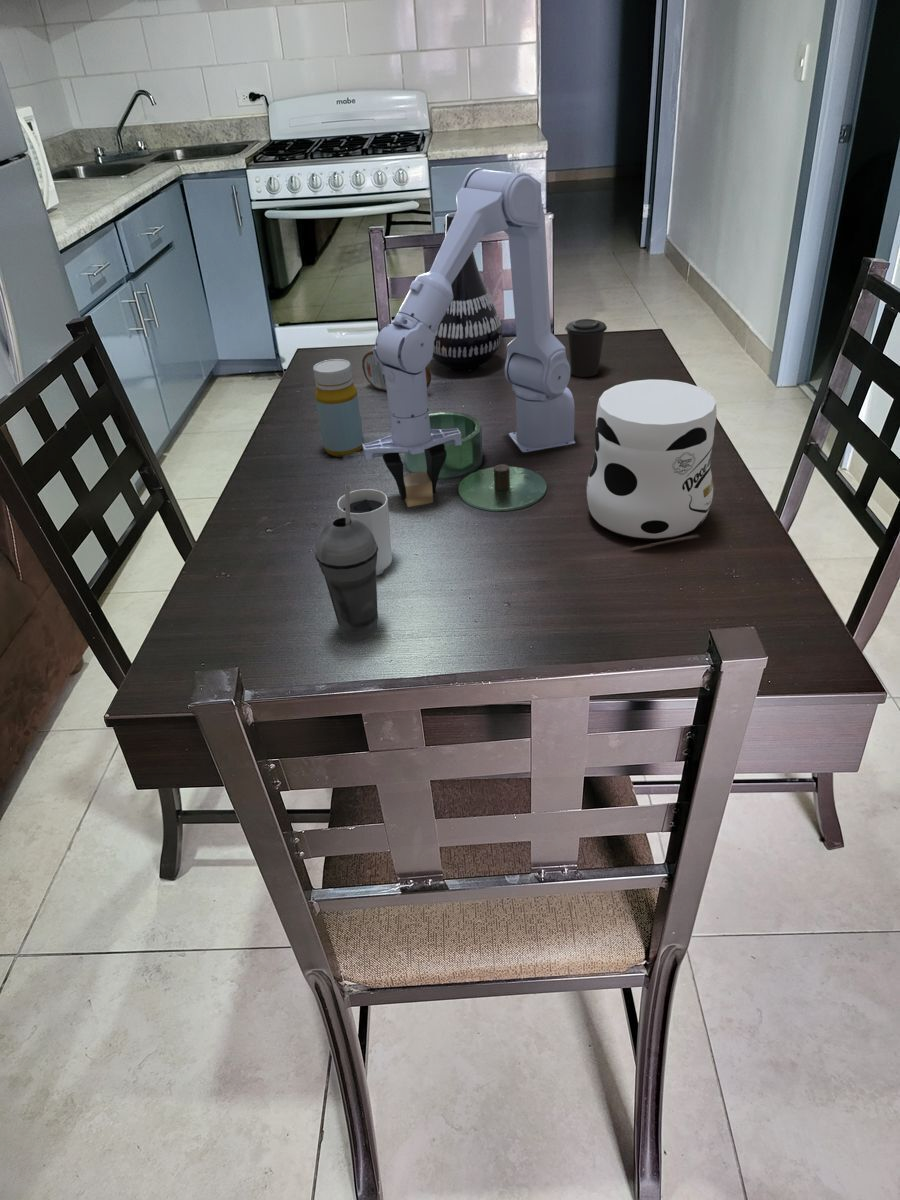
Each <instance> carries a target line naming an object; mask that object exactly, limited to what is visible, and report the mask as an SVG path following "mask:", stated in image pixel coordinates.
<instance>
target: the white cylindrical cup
mask: <svg viewBox="0 0 900 1200" xmlns="http://www.w3.org/2000/svg"><path fill="white" fill-rule="evenodd" d="M388 500H389V499H388V497H387V494H386V493H384V492H383V491H382V490H378V489H374V488H362V489H355V490H352V491H350V517H351V518H355V519H357V520H359V521H361V522H363V523H364V524H365V525H366V526H367V527H368V528H369V529H370V530H371V532H372V534H373V536H374V539H375V541H376V544H377V547H378V552H377V564H376V576H379V575H382V574H384V573H385V571H384V570H386V569H387V568H388V567H389V566H390V565H391V563H392V561H393V556H392V554H393V553H392V542H391V541H392V539H391V527H390V512H389V501H388ZM336 504H337V509H338V514H339V518H340V517H345V494H343V495H342V496H340V497H339V498H338V500H337V502H336Z"/></svg>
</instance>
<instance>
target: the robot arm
mask: <svg viewBox="0 0 900 1200" xmlns="http://www.w3.org/2000/svg"><path fill="white" fill-rule="evenodd" d="M455 201H456V202H455V203H456V208H457V209H456V211H455V212H456V214H455V216H454V219H453V221H452V223H451V225H450V228H449V230H448V232H447V234H446V236H445V235H444V239H443V241H442V243H441V246H440V248H439V250H438V252H437V254H436V257H435V258H434V261H433V263H432V265H431V267H430V270H429V271H428V272H424V273H421V274H419V275H417V276H416V278H415V280H412V282H411V284H410V286H409V291H408V293H407V295H406V296H405V298H404V299H403V302H402V304H401V306H400V308H399V310H398V311H397V313H396V314H395V316H394V318H393V321H392V323H389V324H387V326H384V327H383V328H382V329H380V331H379V332H378V333H377V335H376V338H375V343H374V344H375V345H374V347H375V348H374V347H372V349H373V354H374V356H375V358H376V360H377V361H378V362H379V363H380V364H381V366H382V372H383V375H385V380H386V388H387V391H386V397H387V405H388V415H389V422H390V431H391V435H387V436H385V437H382V438H379V439H377V440H374V441H373V440H372V441H369V442H364V444H362V454H363V457H364V460H365V462H370V461H373V460H374V459H375V458H382V459H383V462H384V464H385V466H386V467H387V469H388V471H389V472H390V474H391V475H392V477H393V478H394V480H395V484H396V486H397V489H398V493H399V496H400V499H401V500H405V499H406V490H405V485H404V475H405V474H404V464H403V461H402V457H401V455H400V454H405V452H410V453H411V454H419V453H423V452H424V451H425V457H426V465H427V474H428V476H429V478H430V480H431V482H432V491H433V495H435V494H436V491H437V484H438V480H439V479H438V476H439V473H440V470H441V468H442V465H443V463H444V462H445V460H446V456H447V453H446V450H445V447H444V446H446V445H452V444H454V445H455V446H457V445H462V442H461V432H460V431H459V429H458V428H454V429H430V418H429V414H430V408H429V398H428V397H429V396H428V388H427V383H426V371H425V368H426V366H427V365H428V366H429V363H430V362H431V361H432V360H433V357H432V356H433V344H434V340H435V339H436V338H435V336H436V334H435V332H436V330H437V328H438V326H439V324H440V322H441V321H442V319H443V317H444V315H445V313H446V311H447V310H448V308H449V306H450V304H451V302H452V300H453V292H452V287H451V284H452V283H453V281H454V280H455V278H456V277H457V275H458V273H459V272H460V270H461V269H462V267H463V266H464V264H465V262H466V261H467V259H468V258H469V256H470V255H471V253H472V251H473V252H474V250H475V248H476V247H477V245H478V244H479V242H480V240H481V239H482V238H483V237H486V236H489V235H492V234H497V233H500V232H504V233H506V235H507V237H508V248H509V258H510V259H509V260H510V271H511V272H510V273H511V285H512V286H511V287H512V298H513V311H514V324H515V325H514V326H515V335H516V336H515V337H514V338H512V339H511V340H510V341H509V343H507V345H506V359H505V363H504V377H505V379H506V381H507V382H508V383H509V384H510V385H511V390H512V392H514V393H515V432H509V433H508V436H509V437H510V439H512V441H513V442H514V443H515V445H516V446H517V447H518V449H519V450H520V451H521V452H522V453H528V452H529V453H530V452H534V451H540V450H545V449H551V448H557V447H563V446H568V445H573V444H576V441H575V418H576V416H575V414H576V413H575V411H576V409H575V399H574V396H573V393H572V391H571V389H570V388H569V387H568V384H569V382H570V380H571V367H570V361H568V359H567V358H568V357H567V352H566V351H567V350H566V346H565V345H564V344H563V343H562V342H561V341H560V340H559V339H558V338H557V337H556V336H555V334H553V332H552V329H551V309H550V308H551V307H550V306H551V305H550V290H549V273H548V272H549V269H548V253H547V252H548V251H547V232H546V216H545V211H544V207H543V197H542V183H541V182H540V181H539V180H537V179H536V178H535V177H533V176H532V175H531V174H529V173H527V172H509V171H499V170H491V169H490V170H489V169H485V168H482V167H476V168H474V169H473V168H472V169H471V170H470V171H469V172H468V173H467V174H466V176H465V177H464V180H463V181H462V185H461V187H460V189H459V190H458V191H457V193H456V195H455Z"/></svg>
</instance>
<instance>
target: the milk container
mask: <svg viewBox="0 0 900 1200" xmlns="http://www.w3.org/2000/svg"><path fill="white" fill-rule="evenodd" d="M716 423H717V402H716V400H715V398H714V396H713V394H711V393H710V392H709V391H707V390H706V389H704V388H703V387H700V386H697V385H695V384H691V383H688V382H684V381H677V380H671V379H640V380H632V381H631V380H630V381H627V382H623V383H620V384H619V383H618V384H616V385H613V386H612V387H609V388H608V389H606V390H604V391H603V393H602V394H601V395H600V396H599V398H598V401H597V406H596V413H595V431H594V456H593V461H592V464H591V468H590V470H589V474H588V477H587V482H586V501H587V506H588V511H589V512H590V515H591V517H592V518H593V519H594V521H595V522H596V523H597V525H599V526H600V527H602V528H604V529H605V530H607V531H608V532H610V533H613V534H615V535H617V536H620V537H624V538H628V539H632V540H637V541H651V542H655V541H662V540H672V539H675V538H677V537H678V538H679V537H681V536H685V535H687V534H689V533H691V532H694V531H695V530H696V529H697V528H698V527H700V526H701V525H702V524H703V522H704V521H705V520H706V518H707V516H708V514H709V511H710V509H711V505H712V502H713V498H714V497H713V496H714V482H713V481H714V480H713V474H712V468H711V457H712V451H713V446H714V439H715V427H716Z"/></svg>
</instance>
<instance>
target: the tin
mask: <svg viewBox="0 0 900 1200" xmlns="http://www.w3.org/2000/svg"><path fill="white" fill-rule="evenodd" d="M373 348H375V346H374V347H373ZM373 348H371V349H370V350H369V351H367V352H366V353H365V354H364V355H363V358H362V361H361V366H362V371H363V375H364V377H365V379H366V381H367V382H368V383H369V384H370V385H371V386H372V387H374V388H375V389H377V390H380V391H384V392H387V388H386V380H385V375H383V372H382V366H381V364H380V363H379V362H378V361H377V360H376V358H375V356H374V354H373ZM425 371H426V383H427V389H428V388H429V387H430V385H431V382H432V373H431V369H430V366H429V364H428V365H427V366H426V368H425Z"/></svg>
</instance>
